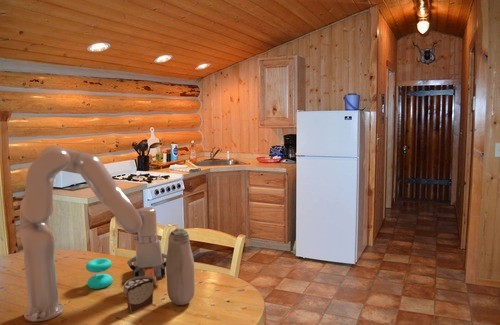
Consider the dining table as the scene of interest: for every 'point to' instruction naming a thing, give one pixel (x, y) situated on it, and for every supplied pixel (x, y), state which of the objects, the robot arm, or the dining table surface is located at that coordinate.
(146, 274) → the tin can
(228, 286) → the dining table surface
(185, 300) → the beige bottle
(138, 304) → the brown piece
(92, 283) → the donuts
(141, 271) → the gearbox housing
